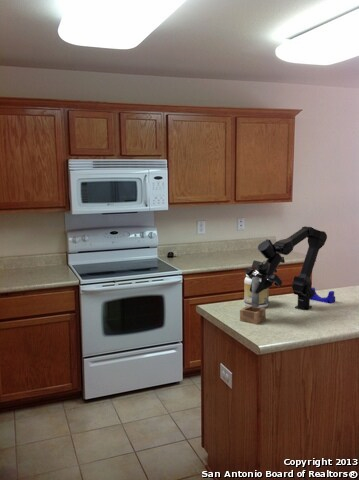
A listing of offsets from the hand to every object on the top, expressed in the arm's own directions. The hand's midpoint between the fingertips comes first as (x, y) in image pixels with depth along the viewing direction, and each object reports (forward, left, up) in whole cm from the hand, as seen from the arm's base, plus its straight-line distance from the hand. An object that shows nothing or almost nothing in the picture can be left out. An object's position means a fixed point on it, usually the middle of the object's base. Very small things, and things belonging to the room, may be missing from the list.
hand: (253, 292), depth 185 cm
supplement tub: (-23, -10, -14) cm, 29 cm away
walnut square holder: (-2, -1, -13) cm, 14 cm away
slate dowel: (-1, 0, -7) cm, 7 cm away
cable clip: (-49, +14, -14) cm, 53 cm away
